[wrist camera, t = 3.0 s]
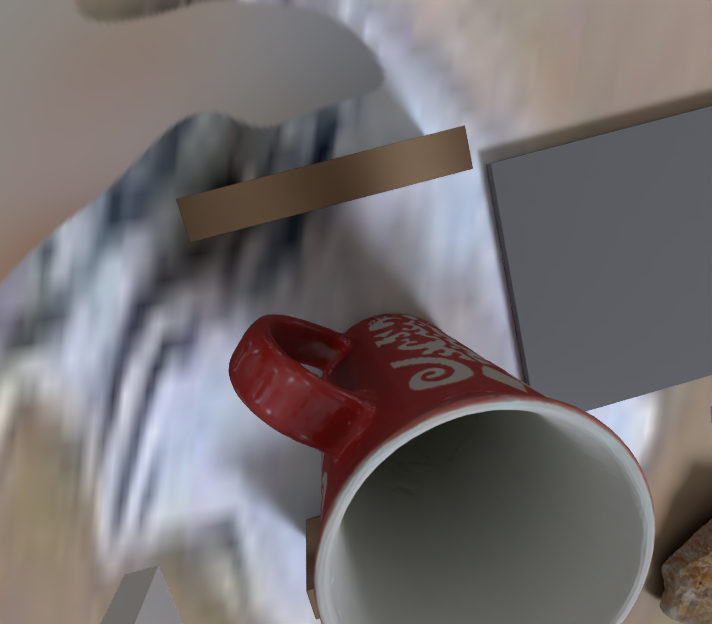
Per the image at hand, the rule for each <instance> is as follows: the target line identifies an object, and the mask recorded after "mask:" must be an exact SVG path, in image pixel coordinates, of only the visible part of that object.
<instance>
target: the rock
mask: <svg viewBox="0 0 712 624" xmlns="http://www.w3.org/2000/svg"><path fill="white" fill-rule="evenodd" d="M661 568H662V576H663V579H664V587H665V591H664V592H663V594H662V599H661V602H660V608H661V609H662V611H663V613H665V614H666V615H667V616H668V617H670V618H672V619H674V620H677V621H679V622H681V623H684V624H712V519H711V520H710V521H709V522H708V523H707V524H705V525H703V526H702V527H701V528H700V529H699V530H698V531H697V532H695V533H694V534H693V536H692V537H691V538H690V539H689V540H688V541H687V542H686V543H685V544H684V545H683V546H682V547H680V548H679V549H678V550H677V551H676V552H675V553H674V554H673V555H672V556H670V557H669V558H668V560H667V561H666V562H665V563H664V564H663V565H662V567H661Z"/></svg>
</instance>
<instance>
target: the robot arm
mask: <svg viewBox="0 0 712 624" xmlns="http://www.w3.org/2000/svg"><path fill="white" fill-rule="evenodd" d="M711 420H712V406H711ZM101 624H183V622H182V619H181V617H180V615H179V612H178V610H177V607H176V605H175V603H174V600H173V598H172V596H171V593H170V591H169V589H168V586H167V584H166V581H165V579H164V577H163V574H162V572H161V570H160V567H159V565H157V566H154V567H151V568H147V569H144V570H140V571H137V572H133V573H130V574H126V575H124V577H123V579H122V581H121V584H120V586H119V588H118V590H117V592H116V594H115V596H114V598H113V600H112V602H111V604H110V606H109V608H108V610H107V612H106V614H105V616H104V618H103V620H102V622H101Z"/></svg>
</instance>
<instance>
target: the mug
mask: <svg viewBox="0 0 712 624" xmlns="http://www.w3.org/2000/svg"><path fill="white" fill-rule="evenodd" d="M300 363H302V364H307V365H310V366H313V367H316V368H318V369H320V370H322V371H323V373H322V378H320V377H319V376H318V375H316V374H314V373H312V372H310V371H309V370H307V369H306V368H304V367H303V366H302V365H301V364H300ZM229 376H230V380H231V383H232V385H233V388H234V390H235V392H236V393H237V395H238V397H239V398H240V399H241V400H242V402H243V403H244V404H245V405H246V406H247V407H248V408H249V409H250V410H251V411H252V412H253V413H254V414H255V415H256V416H257V417H259V418H260V419H261V420H262V421H264V422H265V423H266V424H268V425H269V426H270V427H272V428H273V429H275V430H277V431H278V432H280V433H282V434H284V435H286V436H288V437H290V438H292V439H293V440H295V441H298V442H300V443H302V444H305V445H307V446H310V447H313V448H316V449H318V450H319V451H321V452H322V480H321V530H320V533H319V537H318V541H317V546H316V551H315V556H314V570H313V586H314V596H315V601H316V606H317V610H318V614H319V617H320V620H321V623H322V624H621V623H622V622H623V620H624V619H625V618H626V616H627V615H628V614H629V612H630V611H631V609H632V608H633V606H634V603H635V601H636V599H637V598H638V596H639V594H640V592H641V589H642V587H643V585H644V583H645V580H646V577H647V574H648V571H649V568H650V564H651V560H652V556H653V550H654V542H655V514H654V506H653V501H652V496H651V493H650V489H649V486H648V483H647V480H646V478H645V476H644V474H643V471H642V469H641V467H640V465H639V463H638V462H637V460H636V458H635V457H634V455H633V454H632V452H631V451H630V449H629V448H628V447H627V446H626V445H625V444H624V442H623V441H622V440H621V439H620V438H619V437H618V436H617V435H616V434H615V433H614V432H613V431H612V430H611V429H610V428H609V427H607V426H606V425H605V424H603V423H602V422H601V421H599V420H598V419H597V418H595V417H594V416H592V415H590V414H588V413H587V412H585V411H583V410H581V409H579V408H577V407H575V406H573V405H570V404H568V403H565V402H562V401H558V400H555V399H552V398H548V397H545V396H544V395H542V394H541V393H539V392H538V391H536V390H535V389H533V388H532V387H530V386H529V385H527V384H526V383H524V382H522V381H521V380H519V379H517V378H516V377H514V376H512V375H511V374H509V373H507V372H506V371H505V370H503V369H501V368H500V367H498V366H496V365H495V364H493V363H491V362H490V361H488V360H486V359H484V358H483V357H481V356H479V355H478V354H477V353H475V352H474V351H472V350H471V349H469V348H468V347H466V346H464V345H463V344H461V343H460V342H458V341H457V340H455V339H453V338H452V337H450V336H448V335H447V334H445V333H444V332H442V331H441V330H440V329H438V328H437V327H435V326H433V325H432V324H430V323H428V322H426V321H424V320H422V319H419V318H416V317H413V316H409V315H402V314H384V315H379V316H375V317H371V318H368V319H365V320H363V321H361V322H359V323H358V324H356V325H354V326H353V327H351V328H350V329H349V330H347V331H346V332H345V333H344V334H341V333H337V332H335V331H333V330H331V329H328V328H326V327H323V326H320V325H317V324H314V323H311V322H308V321H305V320H301V319H298V318H294V317H290V316H286V315H266V316H263V317H260V318H259V319H258V320H256V321H255V322H254V323H253V324H252V325H251V326H250V327H249V328H248V330H247V331H246V332H245V334H244V335H243V337H242V339H241V340H240V342H239V344H238V346H237V347H236V349H235V351H234V353H233V354H232V357H231V359H230V363H229Z"/></svg>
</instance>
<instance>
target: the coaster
mask: <svg viewBox="0 0 712 624" xmlns="http://www.w3.org/2000/svg"><path fill="white" fill-rule="evenodd" d="M486 166H487V171H488V177H489V183H490V188H491V194H492V199H493V205H494V210H495V216H496V222H497V227H498V233H499V238H500V244H501V249H502V255H503V260H504V266H505V272H506V277H507V283H508V288H509V294H510V299H511V305H512V311H513V316H514V322H515V327H516V333H517V338H518V344H519V349H520V355H521V361H522V366H523V372H524V377H525V383H526V384H527V385H529V386H530V387H532V388H533V389H535V390H536V391H538V392H539V393H541V394H542V395H544V396H545V397H548V398H552V399H555V400H558V401H562V402H565V403H568V404H570V405H573V406H575V407H577V408H579V409H581V410H583V411H589V410H592V409H595V408H599V407H602V406H606V405H609V404H613V403H616V402H620V401H623V400H626V399H630V398H633V397H637V396H640V395H644V394H647V393H651V392H654V391H657V390H661V389H664V388H668V387H671V386H675V385H678V384H682V383H685V382H688V381H692V380H695V379H699V378H702V377H706V376H709V375H712V106H710V107H706V108H702V109H698V110H694V111H690V112H687V113H683V114H679V115H675V116H671V117H667V118H664V119H660V120H656V121H652V122H648V123H644V124H640V125H637V126H633V127H629V128H625V129H621V130H617V131H614V132H610V133H606V134H602V135H598V136H594V137H591V138H587V139H583V140H579V141H575V142H571V143H567V144H564V145H560V146H556V147H552V148H548V149H544V150H541V151H537V152H533V153H529V154H525V155H521V156H518V157H514V158H510V159H506V160H502V161H498V162H494V163H491V164H487V165H486Z"/></svg>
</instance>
